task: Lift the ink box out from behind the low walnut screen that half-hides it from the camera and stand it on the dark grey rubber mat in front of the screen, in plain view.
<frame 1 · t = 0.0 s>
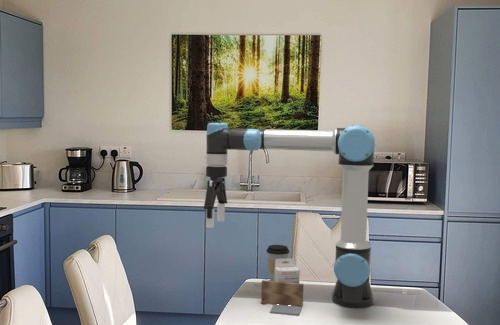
hand: (215, 224, 196), 28 cm above the table, fingers open, 13 cm apart
coffee cup: (277, 283, 222), on the table
ink box: (286, 299, 201), on the table
screen: (281, 304, 195), on the table
mat: (286, 310, 188), on the table
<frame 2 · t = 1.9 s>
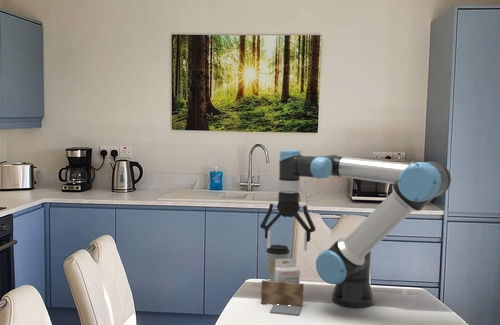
hand: (287, 248, 200), 19 cm above the table, fingers open, 13 cm apart
nothing on the table moved.
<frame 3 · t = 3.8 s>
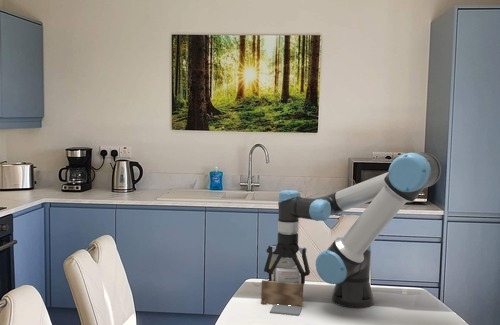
hand: (286, 292, 201), 3 cm above the table, fingers closed on ink box, 9 cm apart
ink box: (286, 299, 201), on the table, touching gripper
everything else where it was.
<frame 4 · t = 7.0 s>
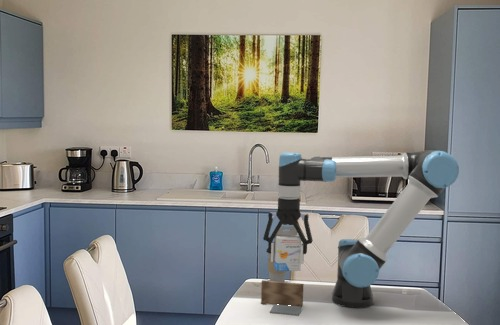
hand: (287, 261, 187), 17 cm above the table, fingers closed on ink box, 9 cm apart
ink box: (287, 270, 187), point 14 cm above the table, touching gripper
everything else where it was.
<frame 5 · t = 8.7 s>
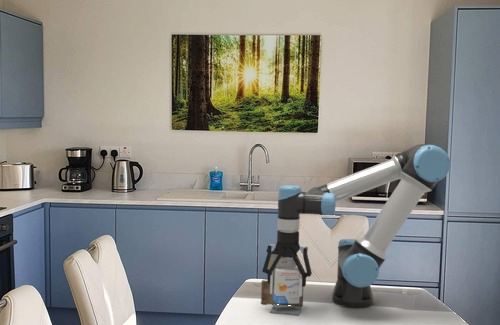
hand: (286, 294, 188), 6 cm above the table, fingers closed on ink box, 9 cm apart
ink box: (286, 302, 188), point 3 cm above the table, touching gripper
everything else where it was.
when the fingers open (4 cm above the table, at t = 10.1 s): ink box stays where it is, resting on mat.
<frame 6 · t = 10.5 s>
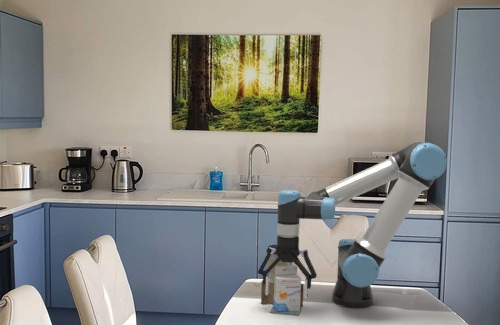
hand: (286, 295, 188), 5 cm above the table, fingers open, 13 cm apart
ink box: (286, 309, 188), resting on mat
everything else where it was.
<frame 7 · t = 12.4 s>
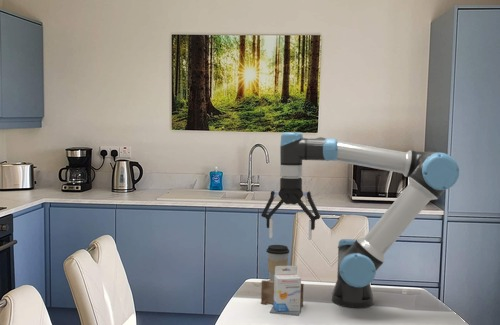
hand: (290, 238, 188), 25 cm above the table, fingers open, 13 cm apart
nothing on the table moved.
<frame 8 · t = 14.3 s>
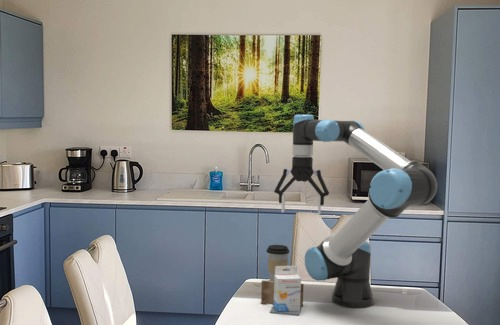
hand: (300, 213, 202), 32 cm above the table, fingers open, 13 cm apart
nothing on the table moved.
at the end: ink box inside the target area on the mat (0.2 cm from its centre), point 0.3 cm above the mat's base; ink box tilted 0°; the gripper is holding nothing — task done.
